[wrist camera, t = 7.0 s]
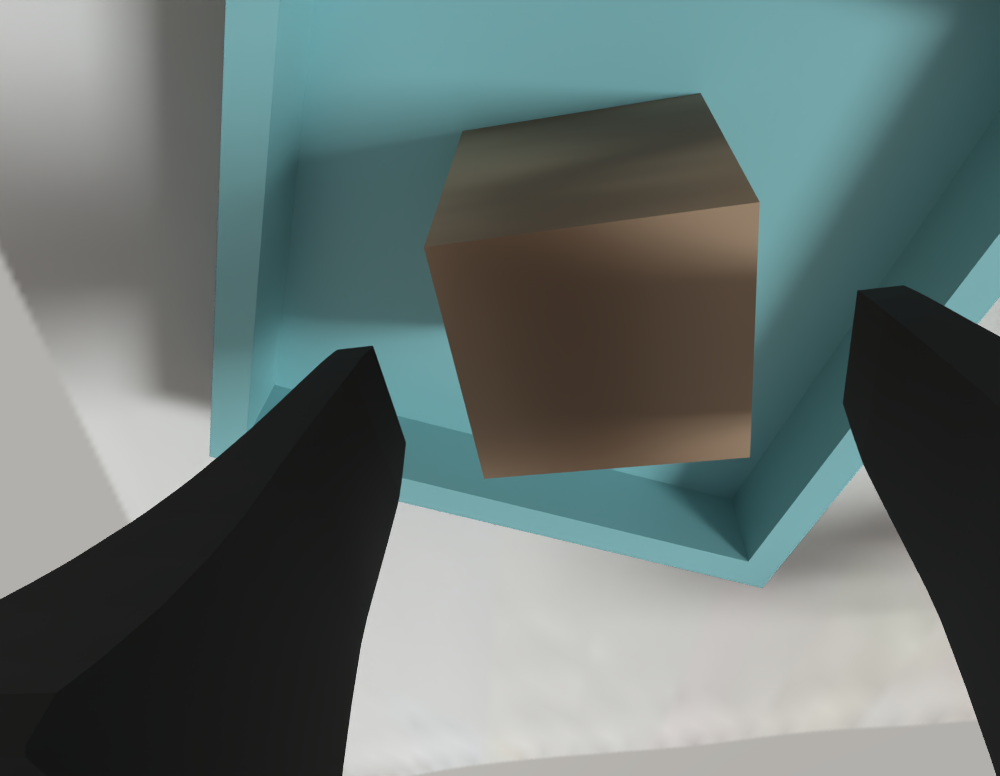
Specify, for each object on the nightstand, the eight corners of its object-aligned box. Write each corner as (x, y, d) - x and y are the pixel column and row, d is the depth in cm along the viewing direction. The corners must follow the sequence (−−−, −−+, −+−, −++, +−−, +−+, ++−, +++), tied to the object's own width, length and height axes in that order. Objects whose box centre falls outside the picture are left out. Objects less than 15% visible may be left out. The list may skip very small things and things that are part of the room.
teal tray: (1134, -33, 12) (1246, -8, 10) (742, 514, 20) (762, 587, 18) (299, -335, 11) (239, -375, 9) (246, 391, 19) (209, 456, 17)
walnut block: (701, 92, 13) (759, 202, 9) (702, 302, 16) (750, 457, 12) (462, 131, 14) (423, 247, 10) (502, 325, 17) (484, 478, 13)
